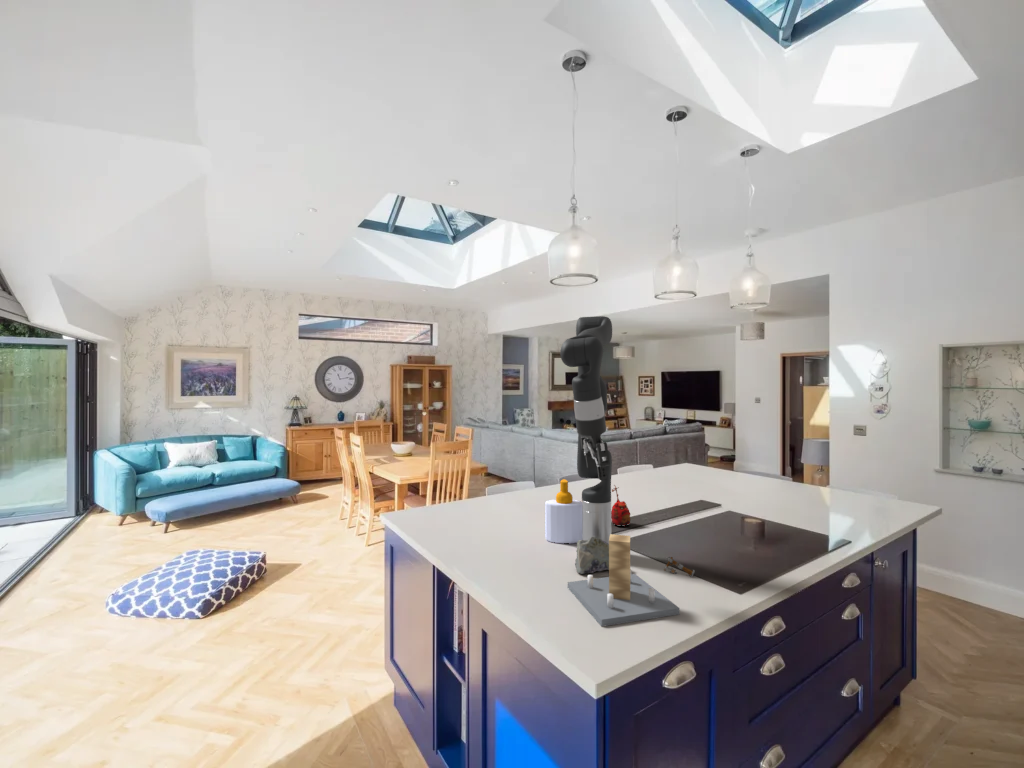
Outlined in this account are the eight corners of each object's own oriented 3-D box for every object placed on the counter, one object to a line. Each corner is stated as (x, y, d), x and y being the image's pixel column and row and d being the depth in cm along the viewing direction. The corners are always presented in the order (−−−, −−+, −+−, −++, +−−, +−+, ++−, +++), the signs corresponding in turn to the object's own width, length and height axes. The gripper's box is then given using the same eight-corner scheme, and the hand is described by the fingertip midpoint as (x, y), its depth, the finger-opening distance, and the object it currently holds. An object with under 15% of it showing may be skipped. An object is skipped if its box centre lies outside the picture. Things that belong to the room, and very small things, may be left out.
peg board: (567, 587, 121) (567, 570, 121) (635, 579, 126) (634, 562, 126) (601, 626, 102) (601, 606, 102) (679, 614, 107) (679, 595, 107)
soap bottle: (582, 536, 162) (582, 479, 162) (584, 544, 153) (584, 484, 153) (545, 535, 163) (545, 478, 163) (544, 543, 155) (544, 483, 155)
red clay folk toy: (621, 529, 170) (620, 488, 170) (606, 524, 175) (606, 485, 175) (634, 525, 174) (634, 486, 174) (620, 521, 180) (619, 483, 180)
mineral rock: (623, 567, 135) (623, 533, 135) (618, 581, 125) (618, 545, 125) (579, 561, 139) (579, 528, 139) (571, 575, 129) (571, 539, 129)
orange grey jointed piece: (661, 566, 133) (667, 553, 132) (688, 582, 129) (695, 569, 128) (660, 569, 131) (667, 555, 130) (687, 585, 128) (694, 571, 127)
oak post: (609, 597, 112) (609, 540, 112) (610, 588, 117) (610, 534, 117) (630, 600, 111) (629, 542, 111) (630, 591, 116) (630, 535, 116)
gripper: (614, 418, 111) (621, 480, 114) (593, 406, 125) (600, 461, 128) (585, 424, 110) (593, 486, 113) (567, 411, 124) (575, 467, 127)
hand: (597, 473), depth 121 cm, fingers open, 8 cm apart
